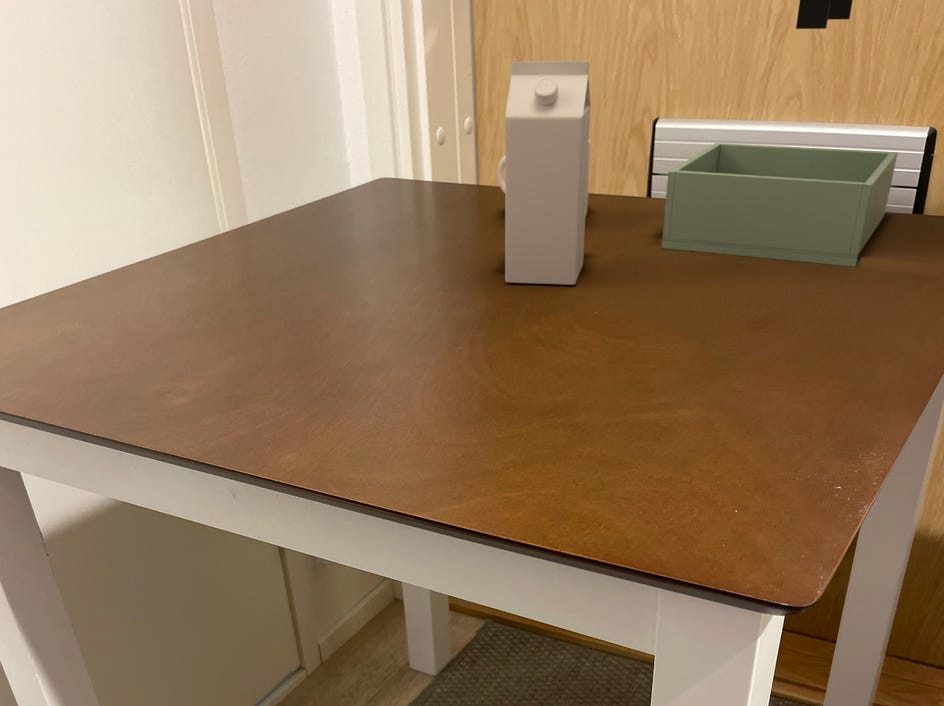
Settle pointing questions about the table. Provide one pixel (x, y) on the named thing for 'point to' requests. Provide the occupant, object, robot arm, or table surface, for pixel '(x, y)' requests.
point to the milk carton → (546, 171)
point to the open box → (778, 202)
